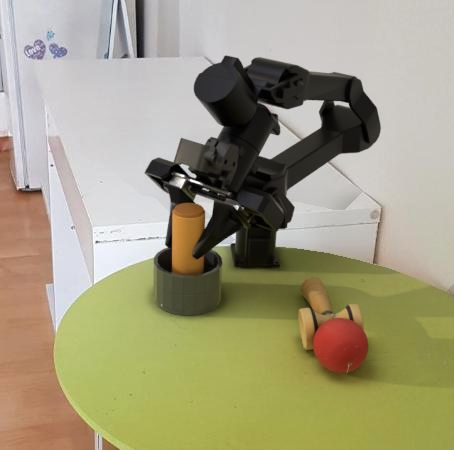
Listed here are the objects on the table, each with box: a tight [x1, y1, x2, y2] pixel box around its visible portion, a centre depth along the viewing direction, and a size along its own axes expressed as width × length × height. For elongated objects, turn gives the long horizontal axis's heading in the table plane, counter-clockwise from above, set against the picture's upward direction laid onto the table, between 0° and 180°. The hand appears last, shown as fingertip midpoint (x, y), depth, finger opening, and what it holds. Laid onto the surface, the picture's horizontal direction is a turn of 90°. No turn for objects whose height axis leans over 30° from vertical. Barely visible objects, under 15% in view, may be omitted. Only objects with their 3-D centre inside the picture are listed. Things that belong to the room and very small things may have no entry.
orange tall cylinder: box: [172, 202, 206, 275], centre depth 94 cm, size 4×4×12 cm
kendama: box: [297, 277, 369, 374], centre depth 89 cm, size 8×6×18 cm
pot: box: [153, 247, 223, 317], centre depth 96 cm, size 9×9×6 cm
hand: (180, 252), depth 93 cm, fingers closed on orange tall cylinder, 4 cm apart
